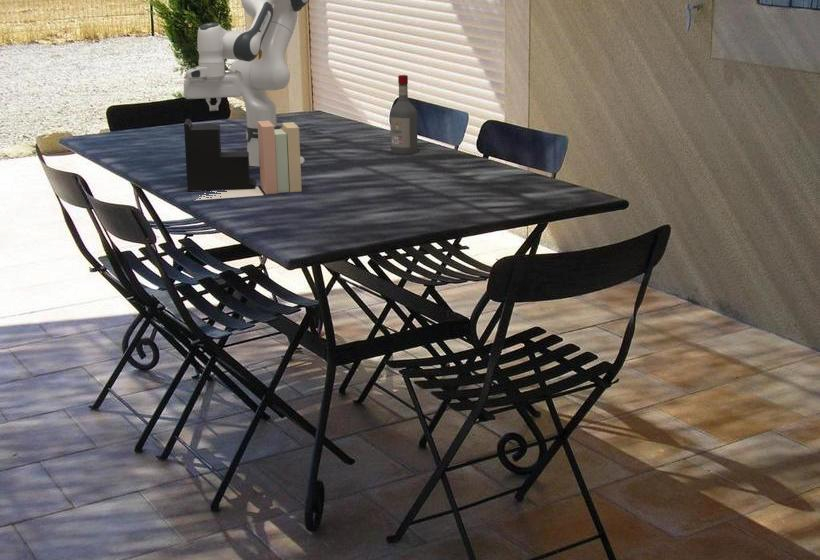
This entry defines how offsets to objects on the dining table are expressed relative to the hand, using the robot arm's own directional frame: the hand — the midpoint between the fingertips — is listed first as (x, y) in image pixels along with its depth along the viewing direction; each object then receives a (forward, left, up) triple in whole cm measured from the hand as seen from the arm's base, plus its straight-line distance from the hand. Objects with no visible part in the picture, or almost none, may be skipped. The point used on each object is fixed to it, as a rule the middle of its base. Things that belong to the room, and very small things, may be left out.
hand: (214, 110), depth 426 cm
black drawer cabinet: (0, +11, -25) cm, 28 cm away
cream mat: (0, +21, -25) cm, 33 cm away
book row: (-19, +21, -25) cm, 38 cm away
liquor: (-76, -28, -25) cm, 85 cm away
